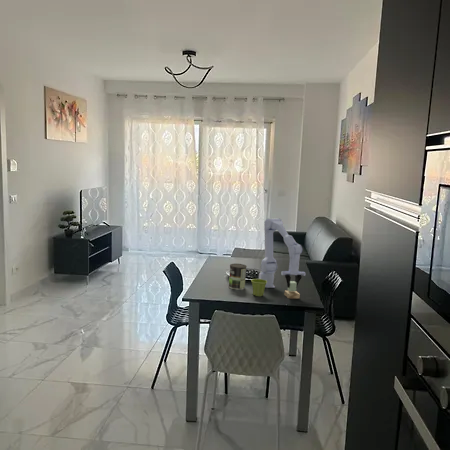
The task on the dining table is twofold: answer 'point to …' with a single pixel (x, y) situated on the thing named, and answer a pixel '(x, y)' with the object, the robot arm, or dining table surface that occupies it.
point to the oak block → (292, 294)
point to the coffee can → (237, 276)
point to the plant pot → (258, 286)
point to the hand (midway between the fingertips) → (292, 287)
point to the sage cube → (292, 286)
